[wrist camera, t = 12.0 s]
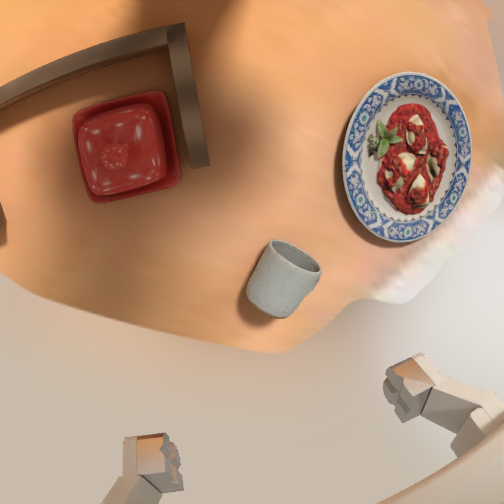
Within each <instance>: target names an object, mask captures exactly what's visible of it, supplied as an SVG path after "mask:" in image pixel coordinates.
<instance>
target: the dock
mask: <svg viewBox="0 0 504 504" xmlns="http://www.w3.org/2000/svg"><path fill="white" fill-rule="evenodd" d="M167 49H169V54H170V60H171V66H172V71H173V77H174V83H175V88H176V94H177V99H178V104H179V110H180V115H181V120H182V125H183V130H184V135H185V140H186V145H187V150H188V155H189V160H190V165H191V169H195V168H200V167H204V166H209V165H210V163H209V157H208V152H207V147H206V142H205V136H204V131H203V126H202V120H201V115H200V109H199V104H198V98H197V93H196V87H195V82H194V76H193V70H192V65H191V59H190V53H189V47H188V41H187V35H186V29H185V23H180V24H175V25H170V26H165V27H160V28H156V29H151V30H147V31H143V32H139V33H135V34H132V35H128V36H125V37H121V38H118V39H114V40H111V41H108V42H105V43H101V44H98V45H95V46H92V47H90V48H87V49H84V50H81V51H78V52H76V53H73V54H70V55H68V56H65V57H63V58H60V59H58V60H56V61H53V62H51V63H48V64H46V65H44V66H42V67H39V68H37V69H35V70H33V71H31V72H29V73H27V74H25V75H22V76H20V77H18V78H16V79H15V80H13V81H11V82H9V83H7V84H5V85H3V86H1V87H0V110H1V109H3V108H5V107H7V106H9V105H11V104H13V103H15V102H17V101H19V100H21V99H23V98H25V97H27V96H30V95H32V94H34V93H36V92H38V91H41V90H43V89H45V88H47V87H50V86H52V85H55V84H57V83H60V82H62V81H65V80H67V79H70V78H72V77H75V76H78V75H80V74H83V73H86V72H89V71H92V70H95V69H98V68H101V67H104V66H107V65H110V64H113V63H117V62H120V61H123V60H127V59H131V58H134V57H138V56H142V55H146V54H150V53H154V52H158V51H162V50H167ZM5 221H6V218H5V215H4V212H3V209H2V207H1V204H0V225H1V224H3V223H4V222H5Z"/></svg>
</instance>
